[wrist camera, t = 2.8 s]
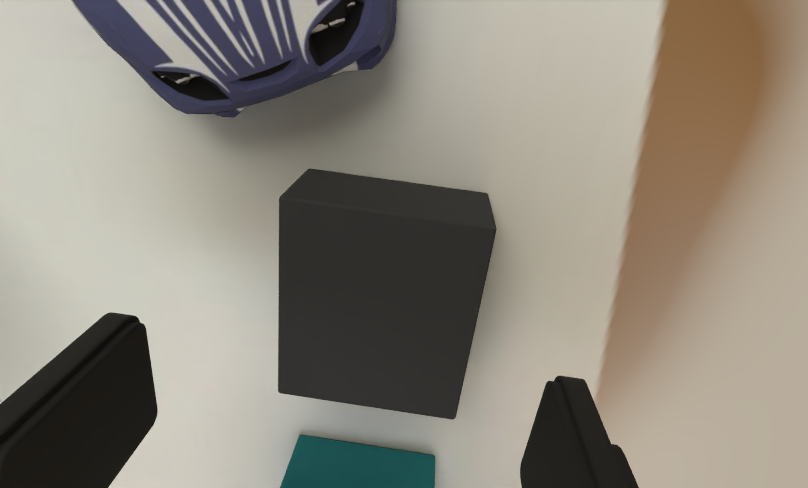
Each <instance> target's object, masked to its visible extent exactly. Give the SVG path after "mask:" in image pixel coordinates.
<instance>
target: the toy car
mask: <svg viewBox="0 0 808 488" xmlns="http://www.w3.org/2000/svg"><path fill="white" fill-rule="evenodd" d="M71 1H72V2H73V4H74V6H75V7H76V8H77V10H78V11H79V12H80V14H81V15H82V16H83V18H84V19H85V20H86V21H87V22H88V23H89V25H90V26H91V27H92V28H93V29H94V30H95V31H96V32H97V33H98V35H99V36H100V37H101V38H102V39H103V40H104V41H105V42H106V43H107V44H108V46H110V47H111V48H112V49H113V50H114V51H115V52H117V53H118V54H119V55H120V56H121V57H122V58H124V59H125V60H126V61H127V62H128V63H129V64H130V65H131V66H132V67H133V68H134V69H135V70H136V72H137V73H138V74H139V75H140V76H141V77H142V78H143V79H144V80H145V81H146V82H147V83H148V84H149V85H150V87H151V88H152V89H153V90H154V91H155V92H156V93H157V94H158V95H159V96H160V97H162V98H163V99H164V100H165V101H166V102H167V103H169V104H170V105H171V106H172V107H173V108H175V109H177V110H179V111H181V112H183V113H186V114H215V115H218V116H222V117H235V116H236V115H238V114H239V113H240V112H241V111H242V110H243V109H244V108H246V107H247V106H249V105H253V104H256V103H260V102H263V101H266V100H270V99H273V98H276V97H280V96H283V95H285V94H288V93H290V92H293V91H295V90H298V89H300V88H303V87H305V86H308V85H310V84H313V83H315V82H318V81H320V80H323V79H325V78H328V77H330V76H333V75H335V74H338V73H340V72H344V71H355V70H365V69H372V68H374V67H375V66H376V65H377V64H378V63H379V62H380V61H381V60H382V58H383V57H384V55H385V54H386V53H387V51H388V49H389V47H390V44H391V41H392V39H393V35H394V28H395V21H396V0H71Z"/></svg>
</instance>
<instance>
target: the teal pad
mask: <svg viewBox="0 0 808 488" xmlns="http://www.w3.org/2000/svg"><path fill="white" fill-rule="evenodd" d="M434 485H435V456H434V455H428V454H422V453H416V452H409V451H403V450H396V449H390V448H383V447H377V446H370V445H364V444H357V443H351V442H345V441H338V440H332V439H325V438H319V437H312V436H306V435H300V436H299V438H298V441H297V443H296V446H295V449H294V451H293V454H292V457H291V460H290V462H289V465H288V468H287V470H286V473H285V476H284V479H283V481H282V484H281V487H280V488H434Z"/></svg>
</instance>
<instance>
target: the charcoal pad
mask: <svg viewBox="0 0 808 488" xmlns="http://www.w3.org/2000/svg"><path fill="white" fill-rule="evenodd" d="M495 234H496V225H495V221H494V217H493V213H492V209H491V205H490V201H489V197H488V194H486V193H481V192H474V191H467V190H459V189H452V188H445V187H438V186H430V185H423V184H416V183H409V182H402V181H394V180H387V179H380V178H373V177H366V176H358V175H351V174H344V173H337V172H329V171H322V170H315V169H308V170H307V171H306V172H305V173H304V174H303V175H302V176H301V177H300V178H299V179H298V180H297V181H296V182H295V183H294V184H293V185H292V186H291V187H290V188H289V189H288V190H287V191H286V192H285V193H284V194H283V195H281V196H280V198H279V351H278V391H279V393H283V394H290V395H296V396H303V397H309V398H316V399H322V400H329V401H336V402H342V403H349V404H355V405H362V406H368V407H375V408H381V409H388V410H395V411H401V412H408V413H414V414H421V415H427V416H434V417H440V418H447V419H455V417H456V413H457V409H458V404H459V400H460V395H461V390H462V386H463V381H464V377H465V372H466V367H467V363H468V358H469V354H470V349H471V344H472V340H473V335H474V331H475V326H476V321H477V317H478V312H479V308H480V303H481V298H482V294H483V289H484V285H485V280H486V275H487V271H488V266H489V262H490V257H491V252H492V248H493V243H494V239H495Z"/></svg>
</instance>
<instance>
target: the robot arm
mask: <svg viewBox="0 0 808 488" xmlns="http://www.w3.org/2000/svg"><path fill="white" fill-rule="evenodd" d="M156 417H157V403H156V396H155V389H154V382H153V375H152V368H151V361H150V354H149V347H148V340H147V333H146V328H145V325H144V324H142V323H140V321H139V319H138V318H137V317H136V316H132V315H125V314H118V313H107V314H106V315H104V316H103V317H102V318H100V319H99V320H98V321H97V322H96V323H95V324H93V325H92V326H91V327H90V328H89V329H88V330H86V331H85V332H84V333H83V334H82V335H81V336H79V337H78V338H77V339H76V340H75V341H74V342H72V343H71V344H70V345H69V346H68V347H67V348H65V349H64V350H63V351H62V352H61V353H60V354H58V355H57V356H56V357H55V358H54V359H53V360H51V361H50V362H49V363H48V364H47V365H46V366H44V367H43V368H42V369H41V370H40V371H39V372H37V373H36V374H35V375H34V376H33V377H31V378H30V379H29V380H28V381H27V382H26V383H24V384H23V385H22V386H21V387H20V388H19V389H17V390H16V391H15V392H14V393H13V394H12V395H10V396H9V397H8V398H7V399H6V400H5V401H3V402H2V403H1V404H0V488H108V487H109V485H110V484H111V483H112V481H113V480H114V479H115V477H116V476H117V474H118V473H119V472H120V470H121V469H122V468H123V466H124V465H125V463H126V462H127V461H128V459H129V458H130V456H131V455H132V454H133V452H134V451H135V450H136V448H137V447H138V445H139V444H140V443H141V441H142V440H143V439H144V437H145V436H146V434H147V433H148V432H149V430H150V429H151V427H152V426H153V424H154V422H155V420H156ZM520 478H521V484H522V488H639V487H638V485H637V483H636V480H635V478H634V475H633V474H632V471H631V469H630V466H629V464H628V461H627V459H626V457H625V455H624V453H623V451H622V449H621V448H620V447H619V446H618V445H614V444H611V443H610V440H609V438H608V435H607V433H606V430H605V428H604V426H603V423H602V421H601V418H600V416H599V413H598V411H597V408H596V406H595V403H594V401H593V398H592V396H591V393H590V391H589V389H588V386H587V384H586V382H585V380H583V379H579V378H572V377H565V376H557V377H556V378H555V380H554V381H548V382H547V384H546V386H545V389H544V392H543V395H542V399H541V402H540V405H539V408H538V411H537V414H536V418H535V421H534V424H533V427H532V430H531V433H530V436H529V440H528V443H527V446H526V449H525V452H524V455H523V459H522V462H521V468H520Z"/></svg>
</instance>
